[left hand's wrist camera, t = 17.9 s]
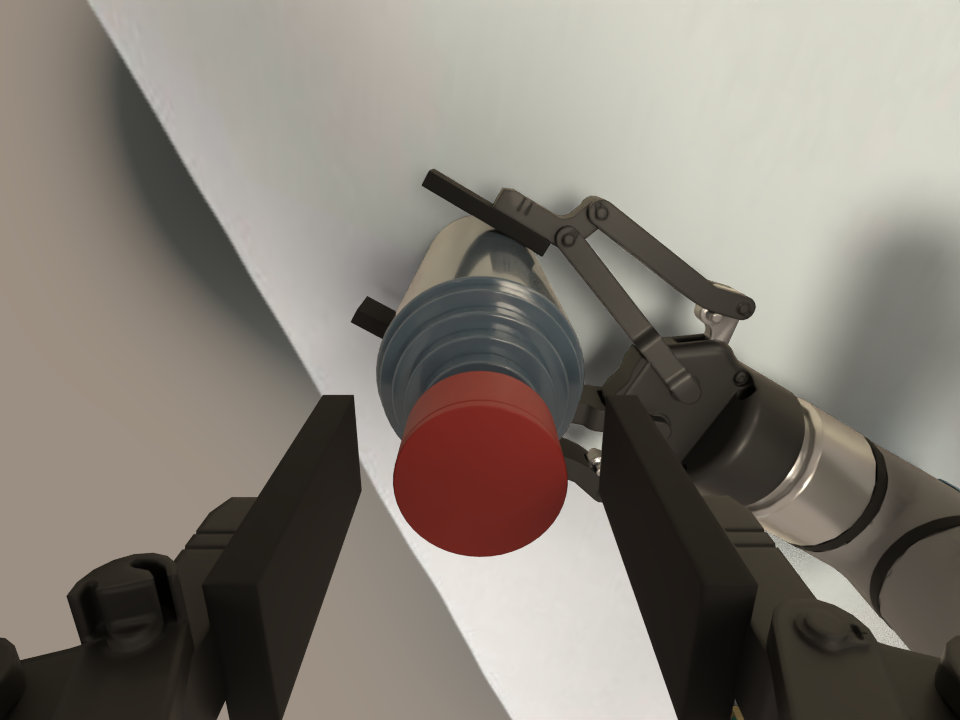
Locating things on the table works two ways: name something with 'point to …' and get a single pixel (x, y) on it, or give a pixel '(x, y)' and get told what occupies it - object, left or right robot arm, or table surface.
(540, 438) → the cap
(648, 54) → the table surface
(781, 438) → the right robot arm
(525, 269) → the bottle
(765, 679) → the left robot arm
